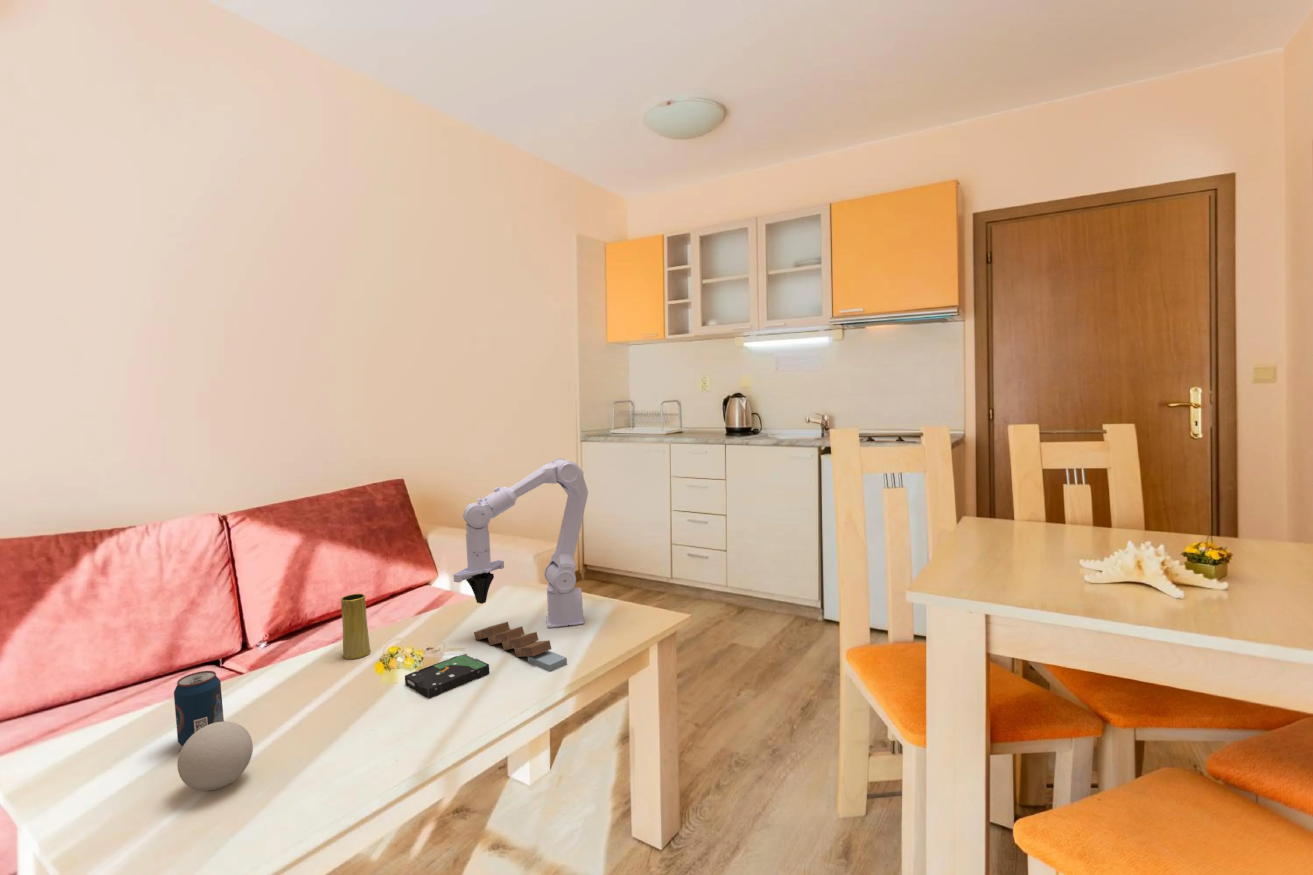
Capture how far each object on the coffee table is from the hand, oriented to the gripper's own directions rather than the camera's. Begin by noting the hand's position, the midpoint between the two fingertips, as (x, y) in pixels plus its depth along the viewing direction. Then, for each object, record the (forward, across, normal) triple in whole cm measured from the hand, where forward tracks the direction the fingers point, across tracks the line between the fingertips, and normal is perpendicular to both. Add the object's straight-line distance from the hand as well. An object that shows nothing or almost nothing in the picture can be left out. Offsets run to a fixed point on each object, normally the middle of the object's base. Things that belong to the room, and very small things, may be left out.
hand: (481, 602), depth 162 cm
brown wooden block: (+8, -1, -12) cm, 14 cm away
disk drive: (+10, -20, -13) cm, 26 cm away
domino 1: (+8, 0, -6) cm, 10 cm away
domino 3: (+8, -2, -17) cm, 19 cm away
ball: (+9, -65, -13) cm, 66 cm away
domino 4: (+8, -2, -22) cm, 24 cm away
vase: (+9, -24, +18) cm, 31 cm away
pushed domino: (+8, 0, 0) cm, 8 cm away
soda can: (+9, -61, +5) cm, 61 cm away
